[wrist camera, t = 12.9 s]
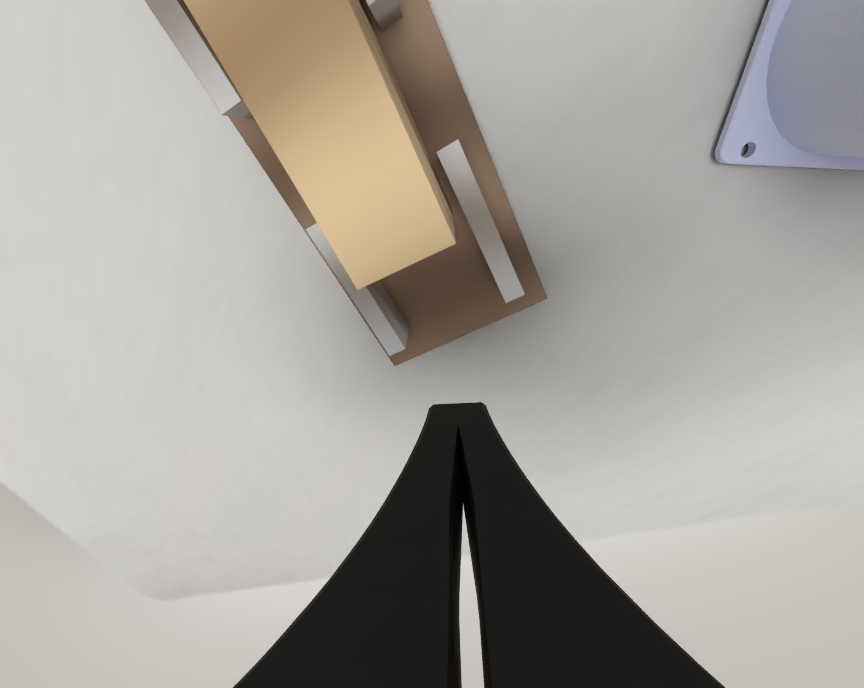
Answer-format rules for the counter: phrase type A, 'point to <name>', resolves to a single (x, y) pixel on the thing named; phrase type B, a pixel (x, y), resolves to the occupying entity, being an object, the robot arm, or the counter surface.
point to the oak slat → (335, 126)
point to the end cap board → (456, 169)
